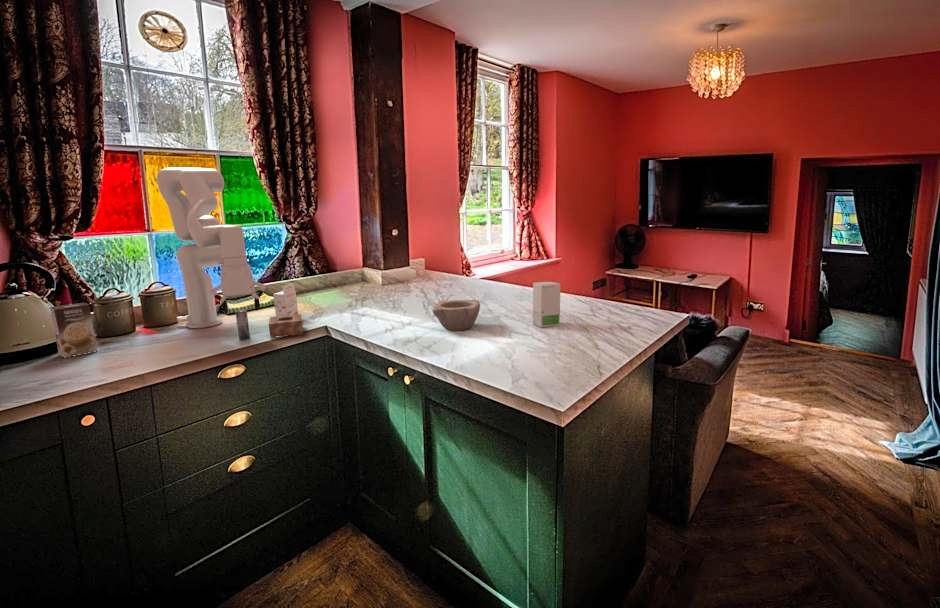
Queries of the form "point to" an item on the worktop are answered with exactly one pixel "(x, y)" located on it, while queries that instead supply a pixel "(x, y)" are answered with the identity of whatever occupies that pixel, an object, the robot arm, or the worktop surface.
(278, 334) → the socket block
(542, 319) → the skincare box
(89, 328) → the coffee box
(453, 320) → the mortar
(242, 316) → the peg
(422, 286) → the worktop surface
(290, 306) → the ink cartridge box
